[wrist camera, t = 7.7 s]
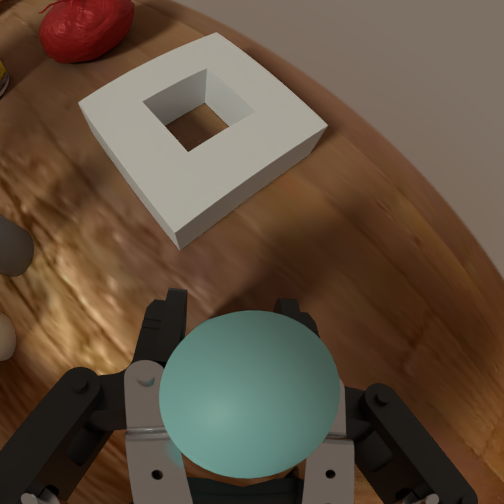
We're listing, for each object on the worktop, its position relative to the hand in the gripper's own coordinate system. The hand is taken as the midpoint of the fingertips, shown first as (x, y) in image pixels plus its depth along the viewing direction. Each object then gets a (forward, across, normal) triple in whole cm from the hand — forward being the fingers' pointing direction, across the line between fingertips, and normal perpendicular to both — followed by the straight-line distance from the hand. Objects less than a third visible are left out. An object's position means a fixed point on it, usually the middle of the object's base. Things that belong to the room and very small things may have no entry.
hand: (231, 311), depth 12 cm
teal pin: (+2, 0, -5) cm, 6 cm away
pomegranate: (+22, -16, +12) cm, 30 cm away
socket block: (+13, -3, +4) cm, 14 cm away
